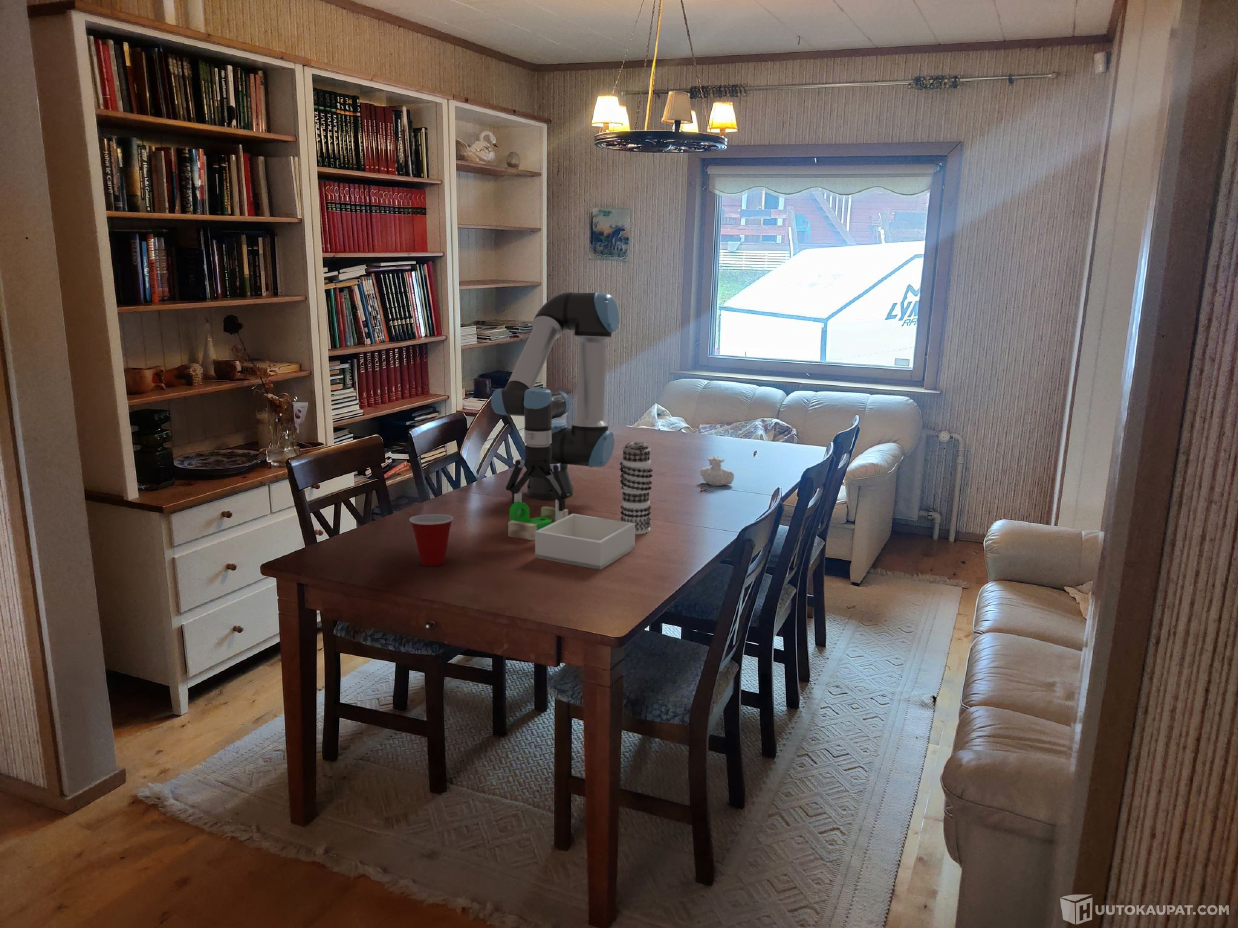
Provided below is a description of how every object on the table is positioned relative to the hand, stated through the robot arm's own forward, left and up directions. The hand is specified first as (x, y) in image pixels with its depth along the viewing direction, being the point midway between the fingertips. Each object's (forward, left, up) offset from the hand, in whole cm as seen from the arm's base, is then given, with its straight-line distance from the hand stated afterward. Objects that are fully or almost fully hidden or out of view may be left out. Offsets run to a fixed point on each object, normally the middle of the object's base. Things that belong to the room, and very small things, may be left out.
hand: (538, 518), depth 254 cm
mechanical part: (-2, +1, -4) cm, 4 cm away
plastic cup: (-8, -37, -4) cm, 38 cm away
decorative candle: (+24, +13, -3) cm, 28 cm away
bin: (+22, -12, -3) cm, 25 cm away
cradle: (0, 0, -3) cm, 3 cm away
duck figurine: (+25, +73, -4) cm, 78 cm away
